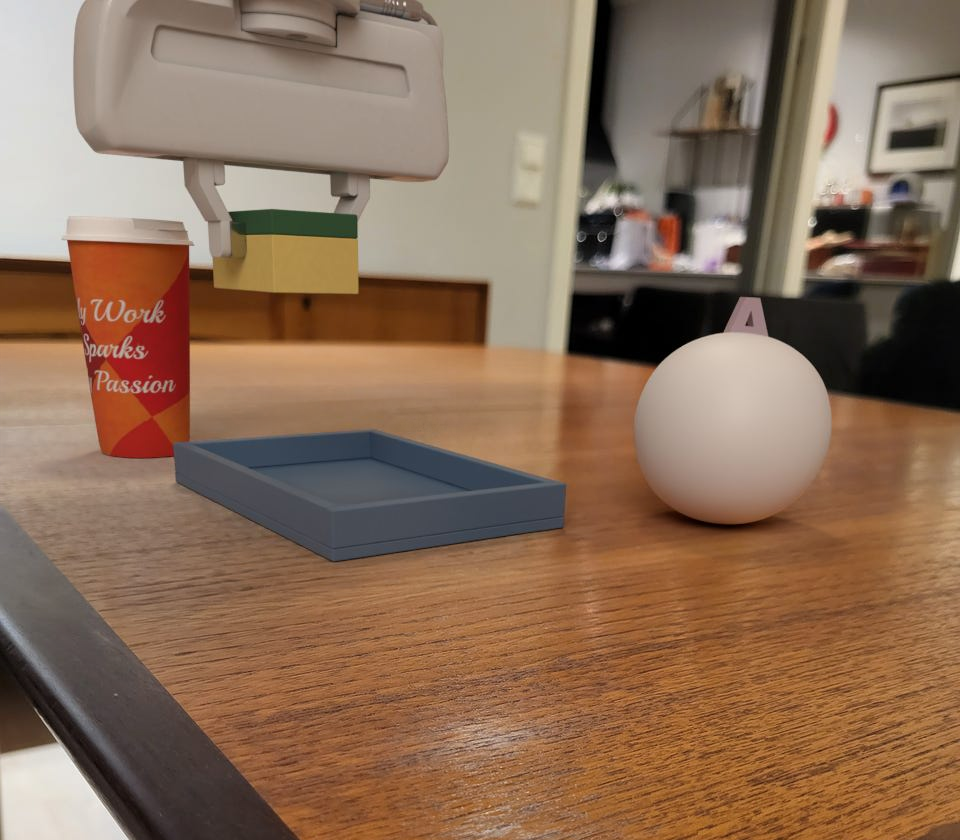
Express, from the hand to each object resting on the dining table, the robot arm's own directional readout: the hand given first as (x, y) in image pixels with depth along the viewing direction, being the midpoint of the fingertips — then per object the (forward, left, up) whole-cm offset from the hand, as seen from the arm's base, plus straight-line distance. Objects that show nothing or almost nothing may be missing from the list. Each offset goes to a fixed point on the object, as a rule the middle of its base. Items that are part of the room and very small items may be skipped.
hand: (282, 260), depth 55 cm
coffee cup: (-16, -3, -13) cm, 21 cm away
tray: (+5, +2, -13) cm, 14 cm away
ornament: (+18, +18, -13) cm, 29 cm away
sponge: (0, 0, -2) cm, 2 cm away
